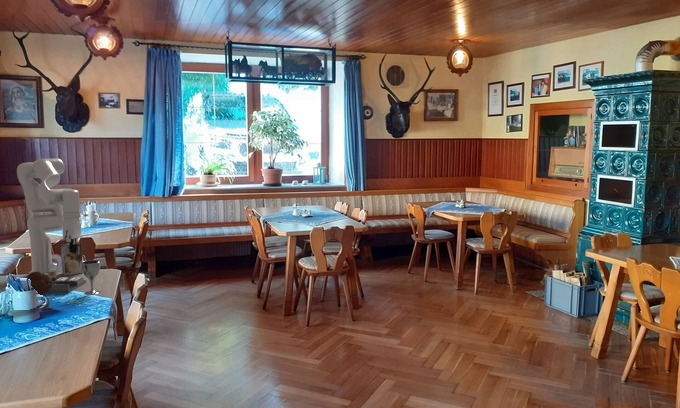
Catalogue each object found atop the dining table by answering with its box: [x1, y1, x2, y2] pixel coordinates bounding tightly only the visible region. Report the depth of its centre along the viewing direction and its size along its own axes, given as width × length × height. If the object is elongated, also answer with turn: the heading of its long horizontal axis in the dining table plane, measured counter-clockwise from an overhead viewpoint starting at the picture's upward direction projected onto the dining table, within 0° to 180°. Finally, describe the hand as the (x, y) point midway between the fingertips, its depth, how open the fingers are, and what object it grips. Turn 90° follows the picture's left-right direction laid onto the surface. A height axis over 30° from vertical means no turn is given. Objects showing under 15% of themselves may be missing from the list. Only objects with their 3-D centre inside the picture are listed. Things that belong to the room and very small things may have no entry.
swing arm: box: [47, 262, 59, 279], centre depth 250 cm, size 18×4×3 cm, turn 28°
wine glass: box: [82, 259, 101, 296], centre depth 246 cm, size 8×8×15 cm
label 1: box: [56, 277, 69, 281], centre depth 258 cm, size 5×4×1 cm
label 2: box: [69, 277, 81, 281], centre depth 258 cm, size 5×4×1 cm
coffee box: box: [59, 242, 84, 277], centre depth 281 cm, size 9×6×16 cm
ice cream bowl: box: [26, 272, 53, 296], centre depth 228 cm, size 11×11×15 cm
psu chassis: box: [47, 276, 87, 294], centre depth 254 cm, size 19×15×8 cm
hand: (73, 251), depth 256 cm, fingers closed
